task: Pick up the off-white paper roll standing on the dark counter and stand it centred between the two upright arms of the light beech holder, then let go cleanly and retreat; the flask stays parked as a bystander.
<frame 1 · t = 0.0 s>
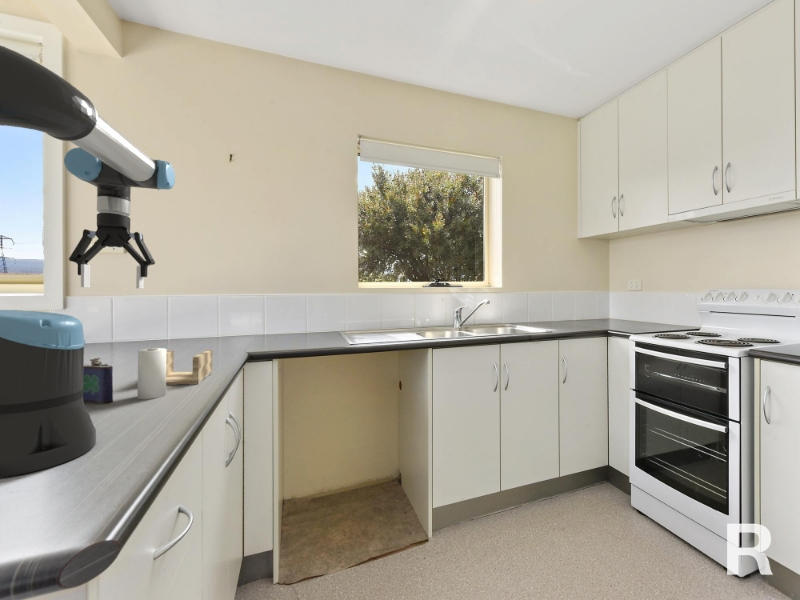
hand: (113, 288, 100), 28 cm above the countertop, fingers open, 13 cm apart
holder: (182, 379, 107), on the countertop
roll: (152, 396, 90), on the countertop
flask: (94, 402, 84), on the countertop
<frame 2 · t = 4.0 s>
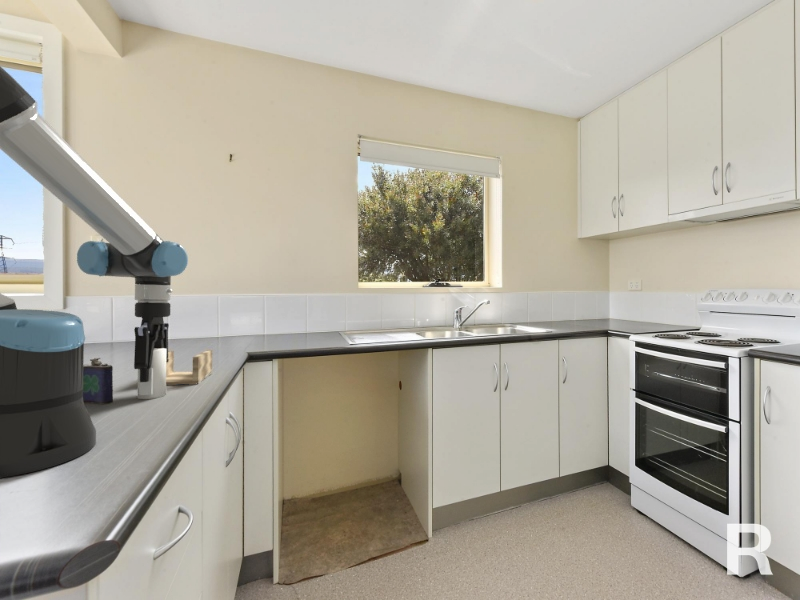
hand: (152, 390, 90), 1 cm above the countertop, fingers closed on roll, 6 cm apart
roll: (152, 395, 90), on the countertop, touching gripper
everything else where it was.
when the fingers open (3 cm above the countertop, at t = 9.7 s): roll stays where it is, resting on holder.
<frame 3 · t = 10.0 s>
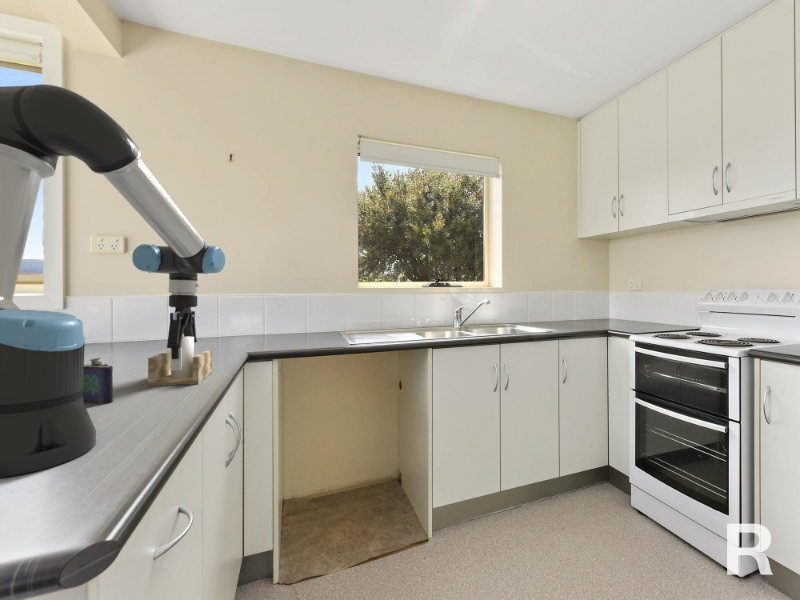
hand: (182, 366, 107), 4 cm above the countertop, fingers open, 9 cm apart
roll: (182, 376, 107), point 1 cm above the countertop, touching holder
everything else where it was.
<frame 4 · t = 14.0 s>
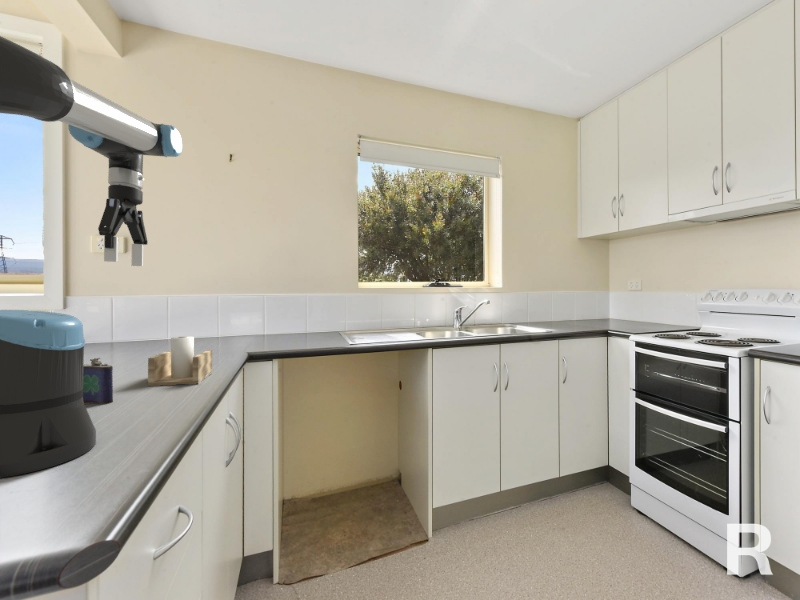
hand: (125, 264, 96), 35 cm above the countertop, fingers open, 13 cm apart
nothing on the countertop moved.
at the end: roll inside the target area on the holder (0.0 cm from its centre), point 1.0 cm above the holder's base; roll tilted 1°; the gripper is holding nothing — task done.
